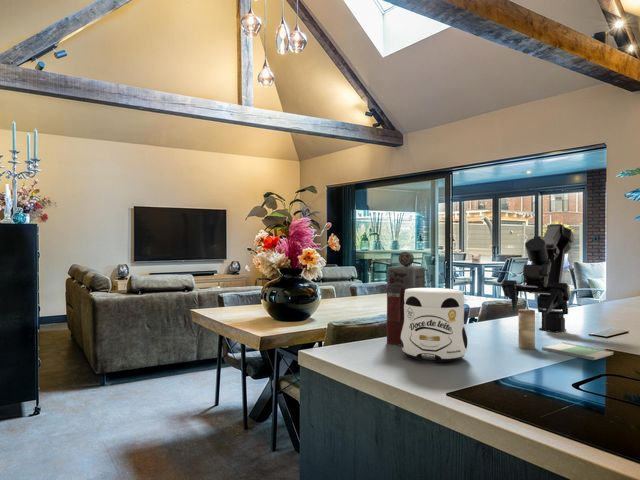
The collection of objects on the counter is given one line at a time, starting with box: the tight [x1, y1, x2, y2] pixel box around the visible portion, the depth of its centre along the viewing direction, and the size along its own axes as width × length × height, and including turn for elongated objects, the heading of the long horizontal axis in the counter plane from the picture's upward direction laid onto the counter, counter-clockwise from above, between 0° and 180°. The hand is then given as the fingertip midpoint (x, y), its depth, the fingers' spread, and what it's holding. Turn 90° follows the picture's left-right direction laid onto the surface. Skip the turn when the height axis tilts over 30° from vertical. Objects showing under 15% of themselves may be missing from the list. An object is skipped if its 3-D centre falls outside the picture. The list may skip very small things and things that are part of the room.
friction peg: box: [518, 308, 536, 350], centre depth 134 cm, size 4×4×11 cm
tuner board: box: [541, 341, 615, 361], centre depth 129 cm, size 14×12×1 cm
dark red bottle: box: [386, 251, 426, 346], centre depth 140 cm, size 9×11×28 cm
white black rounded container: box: [400, 287, 468, 363], centre depth 122 cm, size 17×17×18 cm
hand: (529, 311), depth 137 cm, fingers open, 9 cm apart
